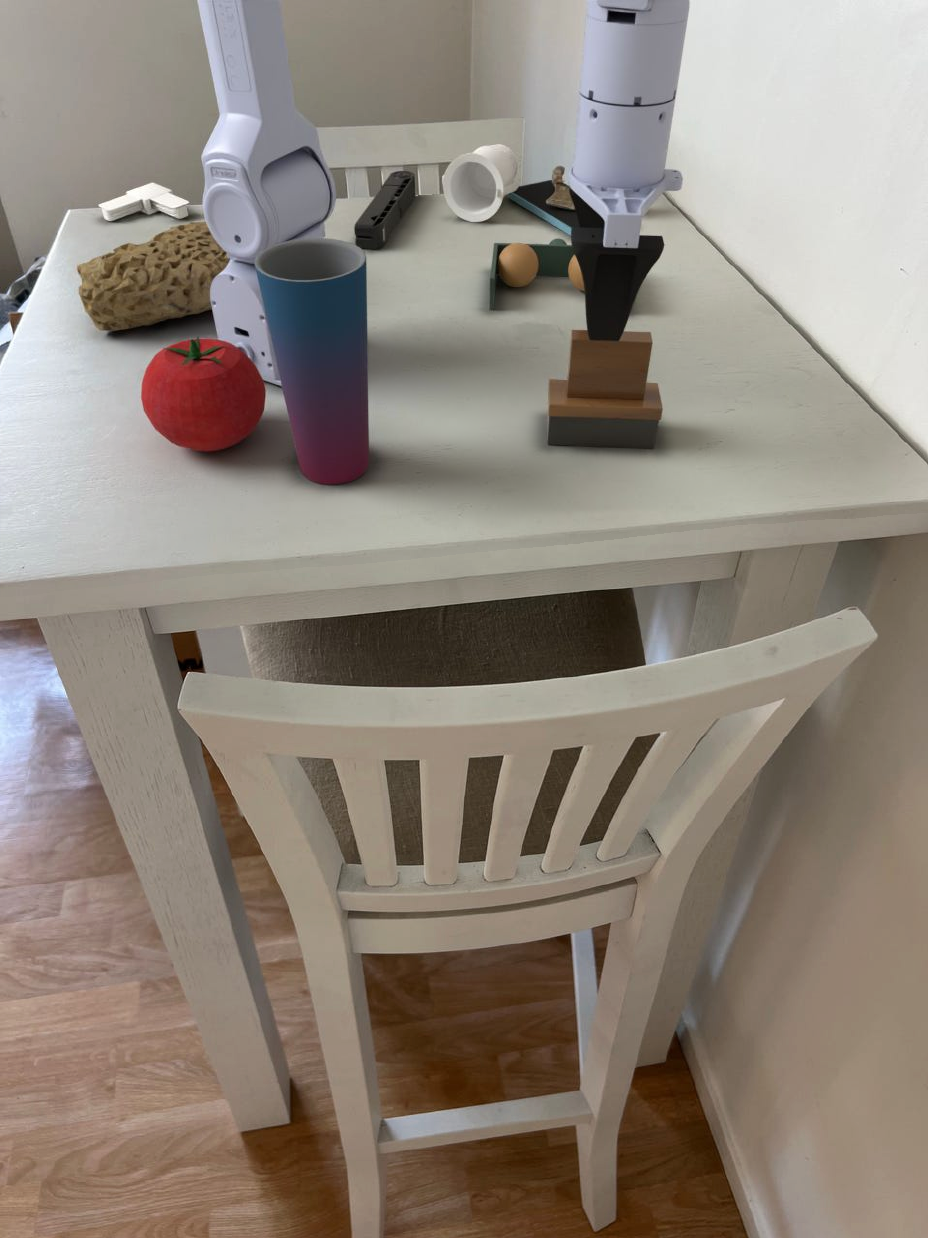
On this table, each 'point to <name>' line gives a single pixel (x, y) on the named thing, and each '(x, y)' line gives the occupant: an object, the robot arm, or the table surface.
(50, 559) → the table surface
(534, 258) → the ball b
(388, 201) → the tablet stand
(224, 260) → the sponge
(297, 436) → the cup
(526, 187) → the smartphone
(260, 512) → the table surface
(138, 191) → the corner connector
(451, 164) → the downlight
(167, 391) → the tomato
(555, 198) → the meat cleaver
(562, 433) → the brush
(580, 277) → the ball
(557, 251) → the green u-shaped pusher
